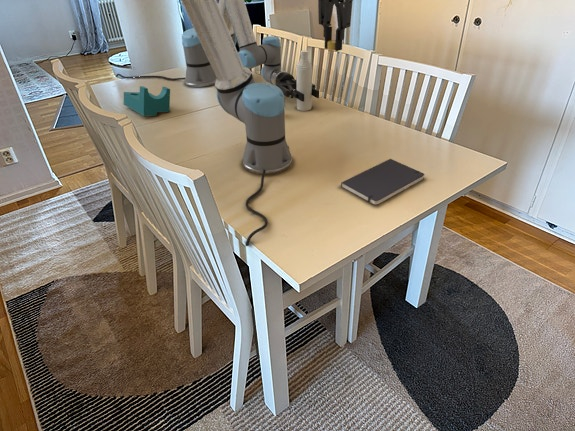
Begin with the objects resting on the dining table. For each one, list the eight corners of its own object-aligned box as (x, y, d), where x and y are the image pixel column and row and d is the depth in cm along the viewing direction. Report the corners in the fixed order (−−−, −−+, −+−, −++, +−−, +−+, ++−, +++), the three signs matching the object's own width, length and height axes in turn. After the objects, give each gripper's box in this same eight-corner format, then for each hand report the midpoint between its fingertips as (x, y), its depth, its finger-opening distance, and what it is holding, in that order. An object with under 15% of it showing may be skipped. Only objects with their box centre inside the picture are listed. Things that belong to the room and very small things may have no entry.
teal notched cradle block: (169, 115, 164) (170, 89, 159) (143, 115, 156) (144, 88, 152) (148, 104, 174) (148, 79, 170) (123, 104, 167) (123, 78, 163)
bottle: (311, 105, 166) (312, 49, 153) (311, 110, 161) (311, 53, 148) (297, 105, 166) (296, 49, 153) (296, 110, 161) (295, 53, 148)
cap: (324, 49, 135) (325, 41, 134) (331, 46, 138) (331, 39, 136) (334, 50, 133) (335, 43, 132) (341, 48, 136) (342, 40, 134)
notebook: (389, 163, 124) (340, 187, 113) (390, 158, 123) (341, 182, 112) (424, 178, 116) (375, 206, 105) (425, 174, 115) (376, 201, 104)
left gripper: (302, 85, 178) (331, 101, 162) (263, 93, 171) (289, 110, 155) (302, 68, 174) (331, 82, 157) (262, 75, 167) (289, 91, 150)
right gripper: (366, -33, 119) (360, 50, 133) (322, -35, 129) (321, 43, 142) (351, -31, 115) (346, 55, 128) (307, -33, 124) (307, 47, 138)
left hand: (310, 96), depth 156 cm, fingers closed on bottle, 6 cm apart
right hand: (333, 49), depth 135 cm, fingers closed on cap, 4 cm apart
